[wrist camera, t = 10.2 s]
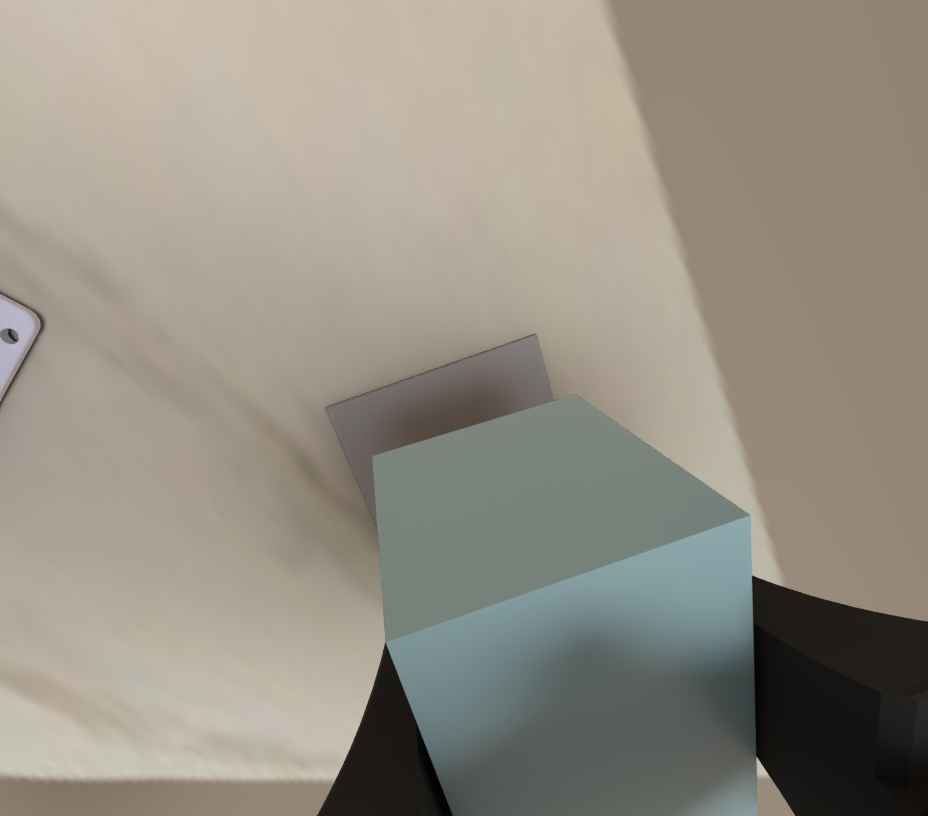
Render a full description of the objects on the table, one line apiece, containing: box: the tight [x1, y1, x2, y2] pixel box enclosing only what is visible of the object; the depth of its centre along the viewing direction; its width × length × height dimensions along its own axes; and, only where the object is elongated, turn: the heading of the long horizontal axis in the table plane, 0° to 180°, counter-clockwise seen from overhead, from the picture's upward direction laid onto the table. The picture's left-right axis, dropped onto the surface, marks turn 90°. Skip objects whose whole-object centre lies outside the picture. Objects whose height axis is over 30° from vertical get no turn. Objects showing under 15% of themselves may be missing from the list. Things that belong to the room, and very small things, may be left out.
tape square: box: [326, 334, 553, 526], centre depth 21 cm, size 9×9×1 cm
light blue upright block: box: [372, 394, 758, 816], centre depth 12 cm, size 9×6×7 cm
